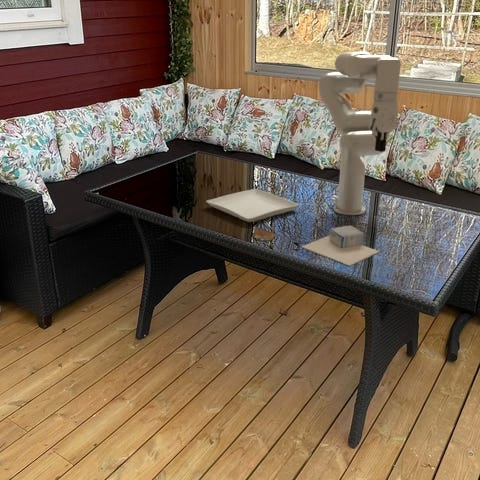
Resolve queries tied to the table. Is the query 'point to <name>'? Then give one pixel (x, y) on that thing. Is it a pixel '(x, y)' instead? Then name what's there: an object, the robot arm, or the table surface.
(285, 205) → the square plate
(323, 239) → the mat
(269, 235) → the shard
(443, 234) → the table surface
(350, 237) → the medicine box
